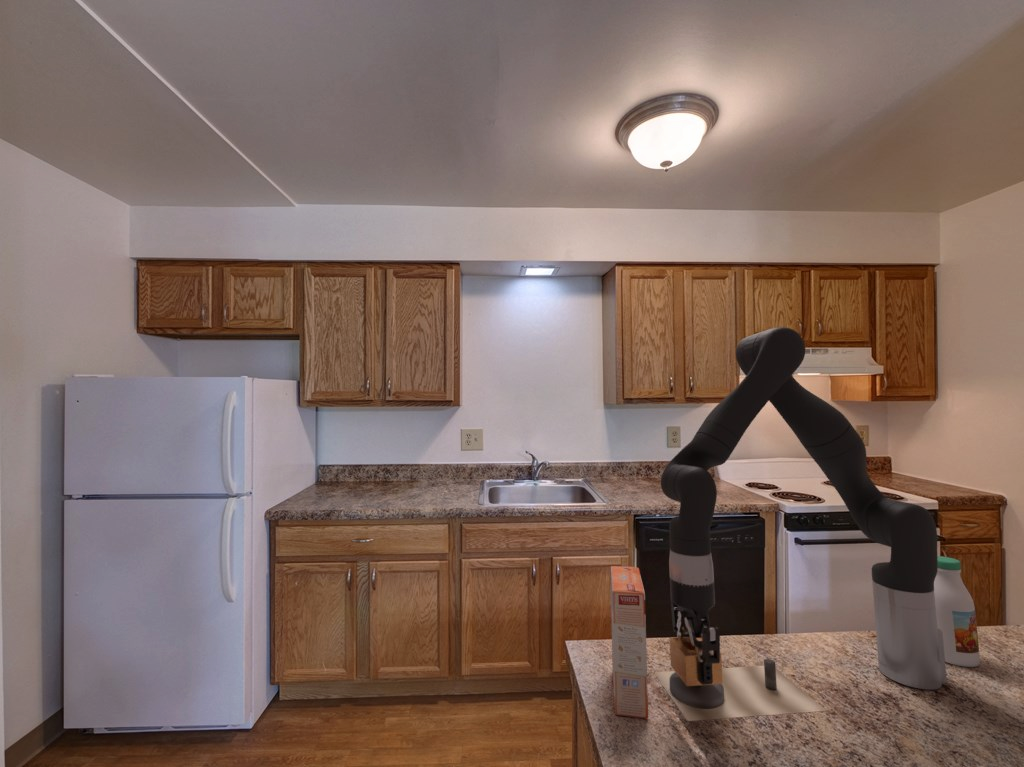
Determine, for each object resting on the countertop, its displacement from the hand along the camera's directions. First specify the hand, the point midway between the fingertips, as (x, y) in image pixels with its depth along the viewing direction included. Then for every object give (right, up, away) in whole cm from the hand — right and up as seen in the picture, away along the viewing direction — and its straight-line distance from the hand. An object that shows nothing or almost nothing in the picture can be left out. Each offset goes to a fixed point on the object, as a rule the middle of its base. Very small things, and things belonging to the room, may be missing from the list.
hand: (695, 671), depth 81 cm
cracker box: (-11, -6, +2) cm, 13 cm away
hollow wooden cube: (0, 0, 0) cm, 0 cm away
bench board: (+7, -5, 0) cm, 9 cm away
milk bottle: (+58, -5, +12) cm, 60 cm away
